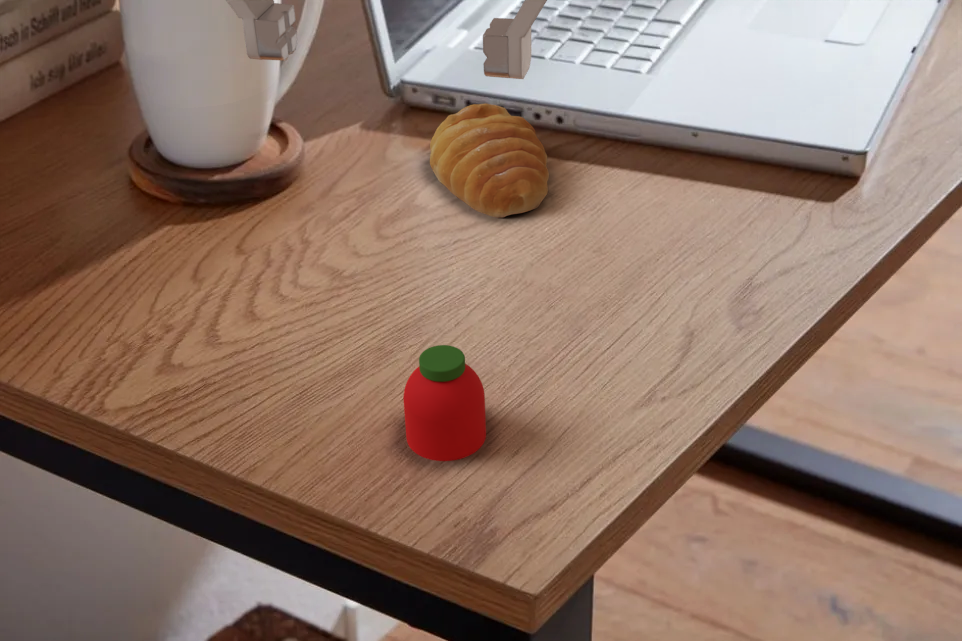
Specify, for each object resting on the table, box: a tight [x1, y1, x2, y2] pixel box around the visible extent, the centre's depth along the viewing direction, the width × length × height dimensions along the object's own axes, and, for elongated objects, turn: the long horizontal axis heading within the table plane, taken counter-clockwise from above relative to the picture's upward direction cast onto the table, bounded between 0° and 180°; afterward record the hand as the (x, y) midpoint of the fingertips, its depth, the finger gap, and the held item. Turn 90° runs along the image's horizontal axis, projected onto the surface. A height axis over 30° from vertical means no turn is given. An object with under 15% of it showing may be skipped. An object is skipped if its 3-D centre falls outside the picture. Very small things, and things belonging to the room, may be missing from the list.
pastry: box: [429, 102, 550, 219], centre depth 80 cm, size 9×7×4 cm
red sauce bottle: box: [402, 344, 487, 462], centre depth 59 cm, size 4×4×5 cm
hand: (388, 63), depth 51 cm, fingers open, 8 cm apart
